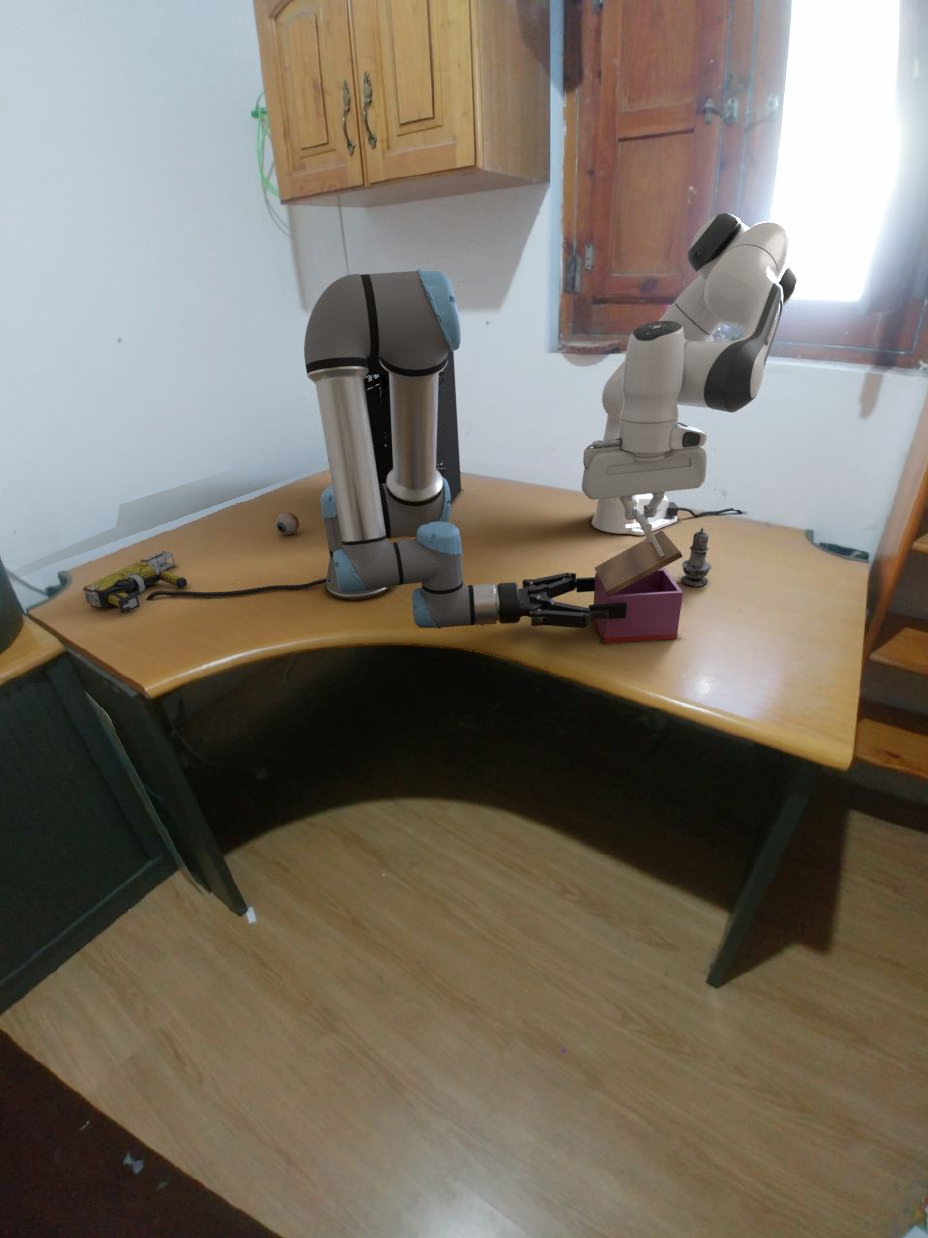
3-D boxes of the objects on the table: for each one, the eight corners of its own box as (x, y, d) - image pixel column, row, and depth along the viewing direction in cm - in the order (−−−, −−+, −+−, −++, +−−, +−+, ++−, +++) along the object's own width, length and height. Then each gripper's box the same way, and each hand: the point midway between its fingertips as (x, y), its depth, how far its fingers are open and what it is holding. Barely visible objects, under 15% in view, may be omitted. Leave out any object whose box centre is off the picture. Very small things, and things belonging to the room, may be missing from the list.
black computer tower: (428, 534, 159) (412, 349, 137) (356, 531, 164) (329, 352, 141) (461, 489, 191) (452, 333, 168) (400, 488, 195) (384, 335, 173)
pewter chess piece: (710, 587, 126) (720, 533, 120) (681, 586, 127) (688, 532, 121) (706, 574, 131) (715, 522, 125) (678, 573, 132) (685, 522, 126)
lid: (664, 534, 110) (646, 498, 107) (683, 556, 102) (664, 517, 98) (596, 572, 114) (576, 537, 110) (609, 596, 105) (588, 560, 102)
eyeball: (273, 537, 164) (268, 516, 161) (287, 528, 169) (282, 508, 166) (291, 539, 161) (286, 518, 158) (305, 530, 166) (301, 510, 163)
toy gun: (211, 559, 145) (160, 548, 149) (132, 601, 125) (76, 587, 129) (214, 576, 147) (164, 565, 151) (137, 620, 127) (82, 606, 131)
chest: (659, 612, 119) (665, 568, 114) (676, 638, 110) (683, 592, 105) (592, 616, 119) (595, 572, 114) (604, 643, 110) (607, 597, 105)
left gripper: (493, 593, 122) (602, 586, 122) (503, 654, 103) (633, 646, 103) (492, 559, 119) (604, 552, 119) (502, 616, 99) (637, 608, 99)
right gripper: (590, 446, 93) (586, 530, 100) (716, 434, 95) (704, 517, 102) (578, 437, 98) (575, 517, 105) (697, 425, 100) (687, 504, 107)
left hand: (618, 596), depth 111 cm, fingers closed on chest, 10 cm apart
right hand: (639, 517), depth 103 cm, fingers closed
